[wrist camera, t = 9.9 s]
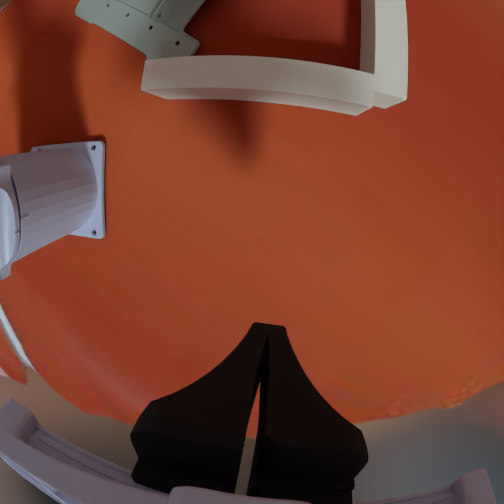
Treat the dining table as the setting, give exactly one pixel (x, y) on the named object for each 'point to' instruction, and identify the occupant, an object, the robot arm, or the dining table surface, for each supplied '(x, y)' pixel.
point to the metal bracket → (146, 24)
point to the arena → (299, 71)
